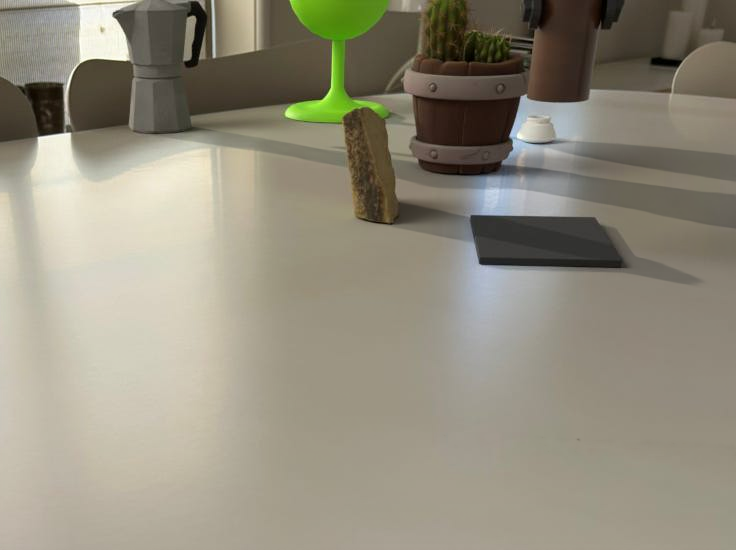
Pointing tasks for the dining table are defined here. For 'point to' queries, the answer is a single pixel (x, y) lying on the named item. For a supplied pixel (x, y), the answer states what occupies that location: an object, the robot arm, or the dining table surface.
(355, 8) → the wineglass
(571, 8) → the pepper mill
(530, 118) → the white bowl
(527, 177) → the dining table surface
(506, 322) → the dining table surface
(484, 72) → the flowerpot
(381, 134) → the rock
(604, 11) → the robot arm
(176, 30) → the coffeepot
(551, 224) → the mat
